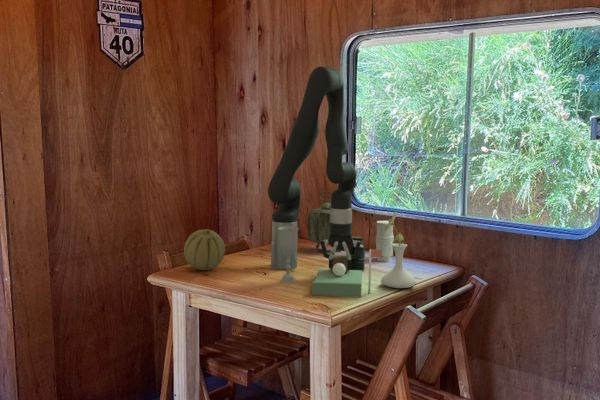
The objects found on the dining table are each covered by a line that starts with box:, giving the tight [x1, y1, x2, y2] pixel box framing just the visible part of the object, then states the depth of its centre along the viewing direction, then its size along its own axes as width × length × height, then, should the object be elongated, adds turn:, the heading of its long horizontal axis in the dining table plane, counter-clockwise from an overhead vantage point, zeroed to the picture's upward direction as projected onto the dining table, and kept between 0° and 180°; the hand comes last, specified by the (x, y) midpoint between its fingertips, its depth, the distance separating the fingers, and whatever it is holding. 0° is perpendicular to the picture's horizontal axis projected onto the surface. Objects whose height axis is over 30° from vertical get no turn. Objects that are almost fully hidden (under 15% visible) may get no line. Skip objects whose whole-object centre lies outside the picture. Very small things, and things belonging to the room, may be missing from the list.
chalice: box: [278, 226, 300, 284], centre depth 203 cm, size 7×7×18 cm
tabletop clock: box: [306, 190, 342, 253], centre depth 252 cm, size 14×9×25 cm, turn 58°
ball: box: [333, 263, 346, 276], centre depth 201 cm, size 4×4×4 cm
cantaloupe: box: [183, 228, 226, 271], centre depth 218 cm, size 15×15×15 cm
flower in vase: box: [380, 211, 417, 289], centre depth 196 cm, size 13×11×25 cm
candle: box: [375, 220, 395, 262], centre depth 237 cm, size 7×7×15 cm
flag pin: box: [367, 248, 382, 294], centre depth 189 cm, size 4×1×14 cm, turn 84°
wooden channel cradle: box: [332, 254, 348, 274], centre depth 208 cm, size 5×6×5 cm
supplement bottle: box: [349, 235, 366, 272], centre depth 220 cm, size 7×7×12 cm
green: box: [311, 268, 363, 298], centre depth 199 cm, size 15×24×4 cm, turn 174°
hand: (340, 269), depth 209 cm, fingers closed on wooden channel cradle, 5 cm apart
